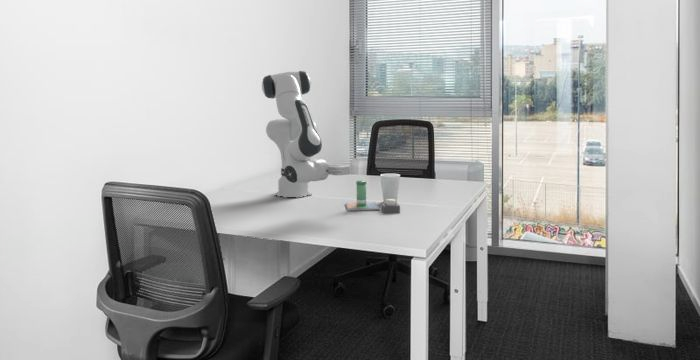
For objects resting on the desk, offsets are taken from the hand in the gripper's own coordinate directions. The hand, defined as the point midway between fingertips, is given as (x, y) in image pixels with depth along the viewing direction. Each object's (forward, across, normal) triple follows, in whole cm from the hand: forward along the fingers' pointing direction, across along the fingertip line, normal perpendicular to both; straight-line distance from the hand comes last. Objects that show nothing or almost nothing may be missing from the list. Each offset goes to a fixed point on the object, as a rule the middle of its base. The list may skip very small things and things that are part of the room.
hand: (342, 166), depth 236 cm
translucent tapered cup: (+30, -2, +20) cm, 36 cm away
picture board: (+12, -1, +20) cm, 23 cm away
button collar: (+14, -16, +20) cm, 29 cm away
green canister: (+12, 0, +19) cm, 23 cm away
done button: (+14, -15, +18) cm, 28 cm away
